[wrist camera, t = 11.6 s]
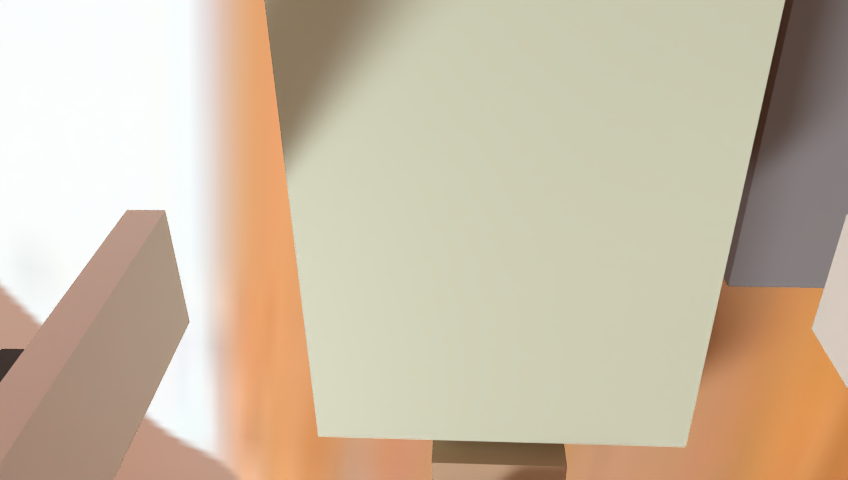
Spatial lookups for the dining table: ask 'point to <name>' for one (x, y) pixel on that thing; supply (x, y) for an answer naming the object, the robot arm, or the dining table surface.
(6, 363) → the robot arm
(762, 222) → the mat
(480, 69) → the grey rectangular block
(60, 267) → the dining table surface
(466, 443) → the toolbox
